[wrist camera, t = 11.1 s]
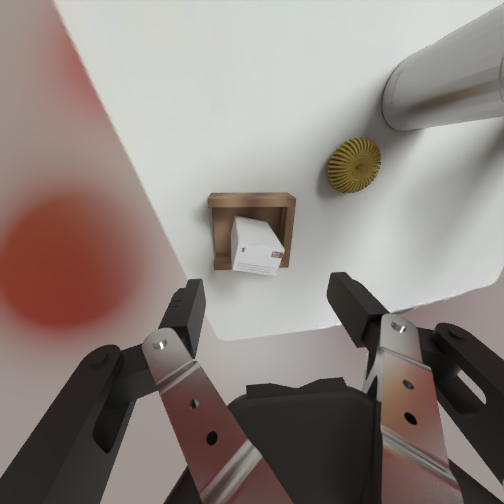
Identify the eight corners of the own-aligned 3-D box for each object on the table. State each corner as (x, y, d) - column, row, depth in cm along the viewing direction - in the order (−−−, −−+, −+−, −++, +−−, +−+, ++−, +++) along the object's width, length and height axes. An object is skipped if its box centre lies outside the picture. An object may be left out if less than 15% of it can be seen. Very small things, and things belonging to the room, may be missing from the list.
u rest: (287, 192, 33) (296, 198, 28) (281, 253, 38) (288, 267, 34) (211, 192, 32) (207, 199, 27) (216, 256, 37) (214, 270, 33)
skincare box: (230, 236, 34) (228, 273, 24) (234, 212, 33) (235, 240, 22) (262, 242, 36) (275, 280, 25) (269, 219, 34) (286, 249, 23)
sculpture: (397, 164, 29) (354, 205, 31) (379, 163, 32) (341, 200, 35) (369, 122, 26) (324, 170, 28) (352, 126, 29) (314, 168, 32)
